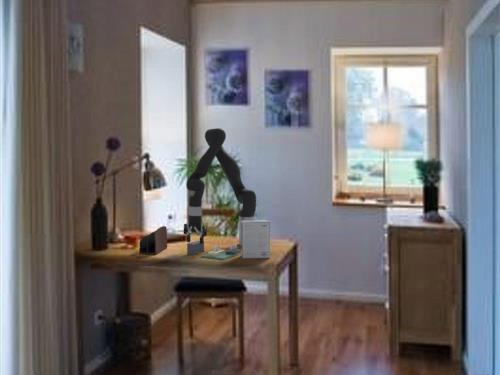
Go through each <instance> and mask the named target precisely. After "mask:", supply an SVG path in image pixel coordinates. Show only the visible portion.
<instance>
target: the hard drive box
mask: <svg viewBox="0 0 500 375" xmlns="http://www.w3.org/2000/svg"><path fill="white" fill-rule="evenodd" d="M270 230H271V223H270V220H269V219H265V220H263V219H260V220H259V219H257V220H256V219H254V220H247V221H241V235H242V245H241V259H270V258H271V241H270V240H271V233H270V232H271V231H270Z"/></svg>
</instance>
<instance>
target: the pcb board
mask: <svg viewBox="0 0 500 375" xmlns="http://www.w3.org/2000/svg"><path fill="white" fill-rule="evenodd" d="M237 246H238V245H237V243H235V244H232V245H229V249H227V250H226V249H221V244H218V245H215V246H213V249H212V250H211V251H208V252H207V253H205V254H203V255H201V257H202V258H205V257H206V258H207V259H213V258H214V259H213V260H220V259H221V260H220V261H225V260H227V259H231V258H233V256H234V257H237V256H239V255H242V249H241V248H238V247H237ZM236 255H237V256H236ZM230 257H231V258H230Z"/></svg>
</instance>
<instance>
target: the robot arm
mask: <svg viewBox="0 0 500 375" xmlns="http://www.w3.org/2000/svg"><path fill="white" fill-rule="evenodd" d="M226 138H227V134H226V131H225V130H224V129H223V128H221V127H219V128H218V127H217V128H209V129H207V130H206V131H205V133H204V139H205V142H206V144H207V145H208V149H207V150H206V151H205V152H204V153H203V154H202V155H201V157H200V159H199V160H198V163H197V165H196V167H195V169H194V171H193V172H192V173H191V175H190V176H189V177H188V179H187V181H186V185H185V186H186V189H187V190H188V191H189V192H194V193H193V195H190V196H189V198H188V218H187V219H188V222H187V223H184V224H183V234H184V236H185V235H186V242H187V243H191V234H192V233H195V234H197V235H199V241H200V244H203V242H204V243H205V241H204V238H205V237H207V236H208V229H207V228H208V227H207V225H206V224H205V225H202V223H203V207H202V204H203V202H202V199H203V196H204V192H205V188H206V187H205V186H206V185H205V181H204V180H203V179H202V178H205V177H206V176H208V172H209V171H210V168H211V167H212V166H211V165H212V163H213V161H214V160H215V158H216V160H217V162H218V163H219V164H220V167H221V169H222V171H223V173H224V175H225V177H226V179H227V181H228V182H229V184H230V186H231V188H232V191H233V192H234V197H235V198H236V201H237V202H238V203H239V204H241V205H242V208H241V209H240V211H238V245H240V246H242V235H241V221H247V220H255V213H256V209H257V195H256V192H255V191H254V190H252V189H247V188H246V187H245V185H244V184H243V182H242V179H241V178H242V177H241V170H240V166H239V164H238V162H237V160H236V159H235V158H234V156H233V155H232V154H230V152H228V151H227V150H226V149H225V148H224V146H223V144H224V142H225V141H226Z"/></svg>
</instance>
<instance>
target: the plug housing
mask: <svg viewBox="0 0 500 375" xmlns="http://www.w3.org/2000/svg"><path fill="white" fill-rule="evenodd" d="M186 246H187V248H186V249H187V250H186V254H187V255H190V256H191V255H192V256H196V255H199V254H202V253H205V241H204V242H203V244H200V240H195V241H192V242H191V241H190V242H187V244H186ZM195 254H196V255H195Z"/></svg>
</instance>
